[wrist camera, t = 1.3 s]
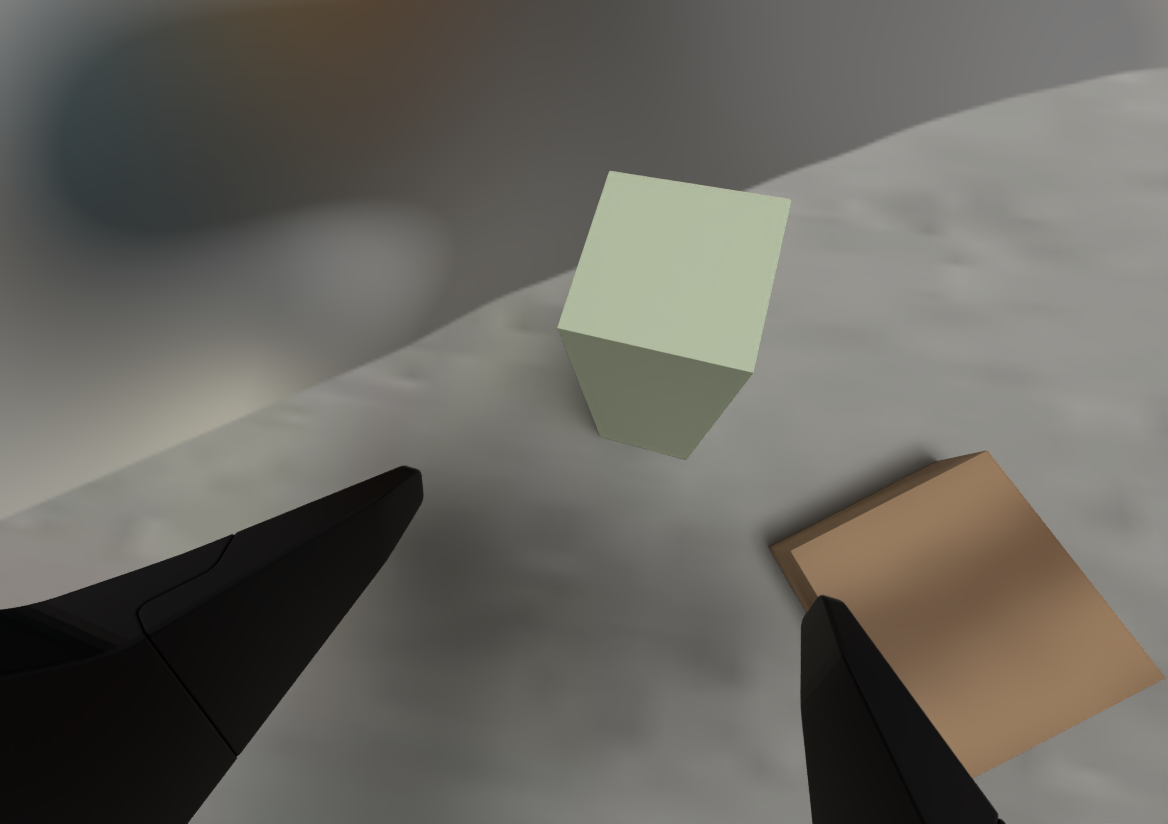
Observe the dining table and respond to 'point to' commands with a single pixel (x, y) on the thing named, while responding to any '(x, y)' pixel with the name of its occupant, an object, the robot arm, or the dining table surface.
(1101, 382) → the dining table surface
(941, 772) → the robot arm
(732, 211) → the sage post
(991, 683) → the walnut slab
